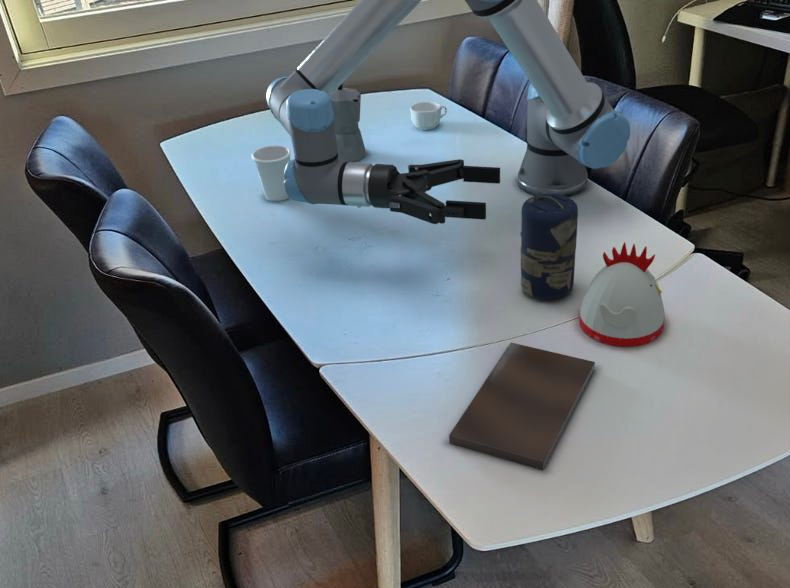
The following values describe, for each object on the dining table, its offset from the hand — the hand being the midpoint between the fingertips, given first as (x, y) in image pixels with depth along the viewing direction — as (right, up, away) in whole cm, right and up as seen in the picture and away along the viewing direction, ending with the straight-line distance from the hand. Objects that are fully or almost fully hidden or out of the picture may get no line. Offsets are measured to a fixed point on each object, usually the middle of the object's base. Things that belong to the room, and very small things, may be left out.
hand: (493, 192), depth 141 cm
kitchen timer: (+21, -22, 0) cm, 31 cm away
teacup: (-12, +31, +74) cm, 81 cm away
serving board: (+4, -35, -17) cm, 39 cm away
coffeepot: (-33, +20, +61) cm, 72 cm away
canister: (+10, -16, +9) cm, 21 cm away
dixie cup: (-45, +7, +44) cm, 64 cm away
